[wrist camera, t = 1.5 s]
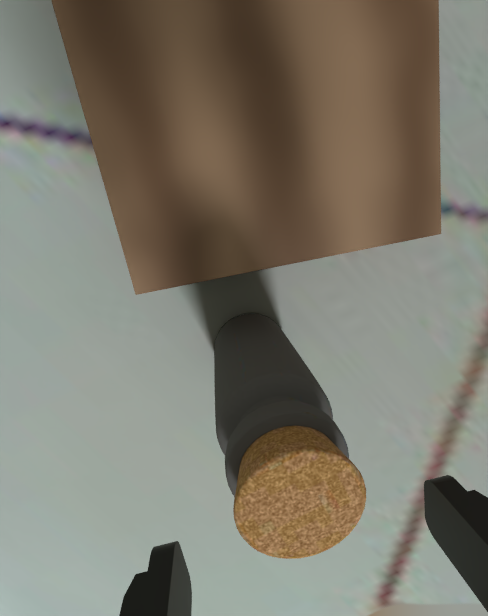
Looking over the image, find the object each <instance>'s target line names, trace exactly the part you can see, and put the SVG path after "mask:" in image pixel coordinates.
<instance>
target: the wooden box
mask: <svg viewBox="0 0 488 616" xmlns="http://www.w3.org/2000/svg"><path fill="white" fill-rule="evenodd" d="M52 4H53V7H54V11H55V14H56V18H57V21H58V25H59V28H60V32H61V35H62V39H63V42H64V46H65V49H66V53H67V56H68V60H69V63H70V67H71V70H72V74H73V77H74V81H75V84H76V88H77V91H78V95H79V98H80V102H81V105H82V109H83V112H84V116H85V119H86V123H87V126H88V130H89V133H90V137H91V140H92V144H93V147H94V151H95V154H96V158H97V161H98V165H99V168H100V172H101V175H102V178H103V182H104V185H105V189H106V192H107V196H108V199H109V203H110V206H111V210H112V213H113V217H114V220H115V224H116V227H117V231H118V234H119V238H120V241H121V245H122V248H123V252H124V255H125V259H126V262H127V266H128V269H129V273H130V276H131V280H132V283H133V287H134V290H135V294H136V295H137V294H142V293H147V292H152V291H157V290H162V289H167V288H172V287H177V286H182V285H187V284H192V283H197V282H202V281H207V280H212V279H217V278H222V277H227V276H232V275H237V274H242V273H247V272H252V271H257V270H262V269H267V268H272V267H277V266H282V265H287V264H292V263H298V262H303V261H308V260H313V259H318V258H323V257H328V256H333V255H338V254H343V253H348V252H353V251H358V250H363V249H368V248H373V247H378V246H383V245H388V244H393V243H398V242H403V241H408V240H413V239H418V238H423V237H428V236H433V235H438V234H441V185H440V94H439V2H438V0H52Z"/></svg>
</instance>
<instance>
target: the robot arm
mask: <svg viewBox="0 0 488 616" xmlns="http://www.w3.org/2000/svg"><path fill="white" fill-rule="evenodd" d="M424 500H425V519H426V522H427V525H428V528H429V530H430V532H431V534H432V536H433V537H434V539H435V540H436V542H437V543H438V544H439V546H440V547H441V548H442V550H443V551H444V553H445V554H446V555H447V557H448V558H449V559H450V561H451V562H452V564H453V565H454V566H455V568H456V569H457V570H458V572H459V573H460V575H461V576H462V577H463V579H464V580H465V581H466V583H467V584H468V586H469V587H470V588H471V590H472V591H473V592H474V594H475V595H476V597H477V598H478V599H479V601H480V602H481V603H482V605H483V606H484V608H485V609H486V610H487V612H488V498H487V497H486V496H484V495H482V494H481V493H479V492H477V491H476V490H472V491H468V492H467V491H466V490H465V489H464V488H463V487H462V486H461V485H460V484H459V483H458V482H457V481H456V480H455V479H454V478H453V477H451V476H449V475H446V476H442V477H438V478H434V479H430V480H426V481H425V483H424ZM191 605H192V591H191V581H190V576H189V572H188V569H187V566H186V563H185V560H184V556H183V553H182V550H181V547H180V544H179V542H178V541H176V542H172V543H168V544H164V545H160V546H156V547H153V549H152V551H151V555H150V561H149V567H148V571H147V572H143V573H139V574H136V575H135V577H134V579H133V580H132V582H131V584H130V586H129V588H128V590H127V592H126V594H125V596H124V598H123V603H122V607H121V611H120V616H191Z"/></svg>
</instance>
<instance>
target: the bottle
mask: <svg viewBox="0 0 488 616" xmlns="http://www.w3.org/2000/svg"><path fill="white" fill-rule="evenodd" d="M214 361H215V417H216V433H217V438H218V442H219V445H220V447H221V449H222V451H223V453H224V454H225V469H226V477H227V482H228V486H229V488H230V490H231V492H232V494H233V495H234V497H235V500H234V520H235V523H236V526H237V529H238V531H239V533H240V535H241V536H242V537H243V539H244V540H245V541H246V542H247V543H248V544H249V545H250V546H251V547H253V548H254V549H256V550H257V551H259V552H261V553H264V554H266V555H269V556H273V557H278V558H303V557H308V556H313V555H316V554H319V553H321V552H323V551H325V550H328V549H330V548H331V547H333V546H335V545H336V544H338V543H339V542H340V541H342V540H343V539H344V538H345V537H346V536H348V535H349V533H350V532H351V531H352V530H353V529H354V527H355V526H356V525H357V523H358V521H359V520H360V518H361V515H362V513H363V510H364V507H365V502H366V488H365V484H364V480H363V478H362V476H361V473H360V472H359V470H358V469H357V468H356V466H355V465H354V464H353V463H352V462H351V461H350V460H349V453H348V447H347V444H346V441H345V439H344V436H343V435H342V433H341V431H340V430H339V428H338V427H337V425H336V424H335V422H334V421H333V415H332V409H331V406H330V403H329V400H328V398H327V396H326V395H325V393H324V391H323V390H322V388H321V387H320V385H319V384H318V382H317V380H316V379H315V377H314V376H313V374H312V373H311V371H310V370H309V369H308V367H307V366H306V364H305V363H304V361H303V360H302V358H301V357H300V356H299V354H298V353H297V351H296V350H295V348H294V347H293V345H292V344H291V343H290V341H289V340H288V338H287V337H286V336H285V334H284V333H283V331H282V330H281V329H280V327H279V326H278V325H277V324H276V323H275V322H274V321H273V320H271V319H269V318H268V317H266V316H263V315H259V314H243V315H240V316H237V317H235V318H233V319H231V320H230V321H228V322H227V323H226V324H225V325H224V326H223V327H222V329H221V330H220V331H219V333H218V336H217V338H216V342H215V352H214Z"/></svg>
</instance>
